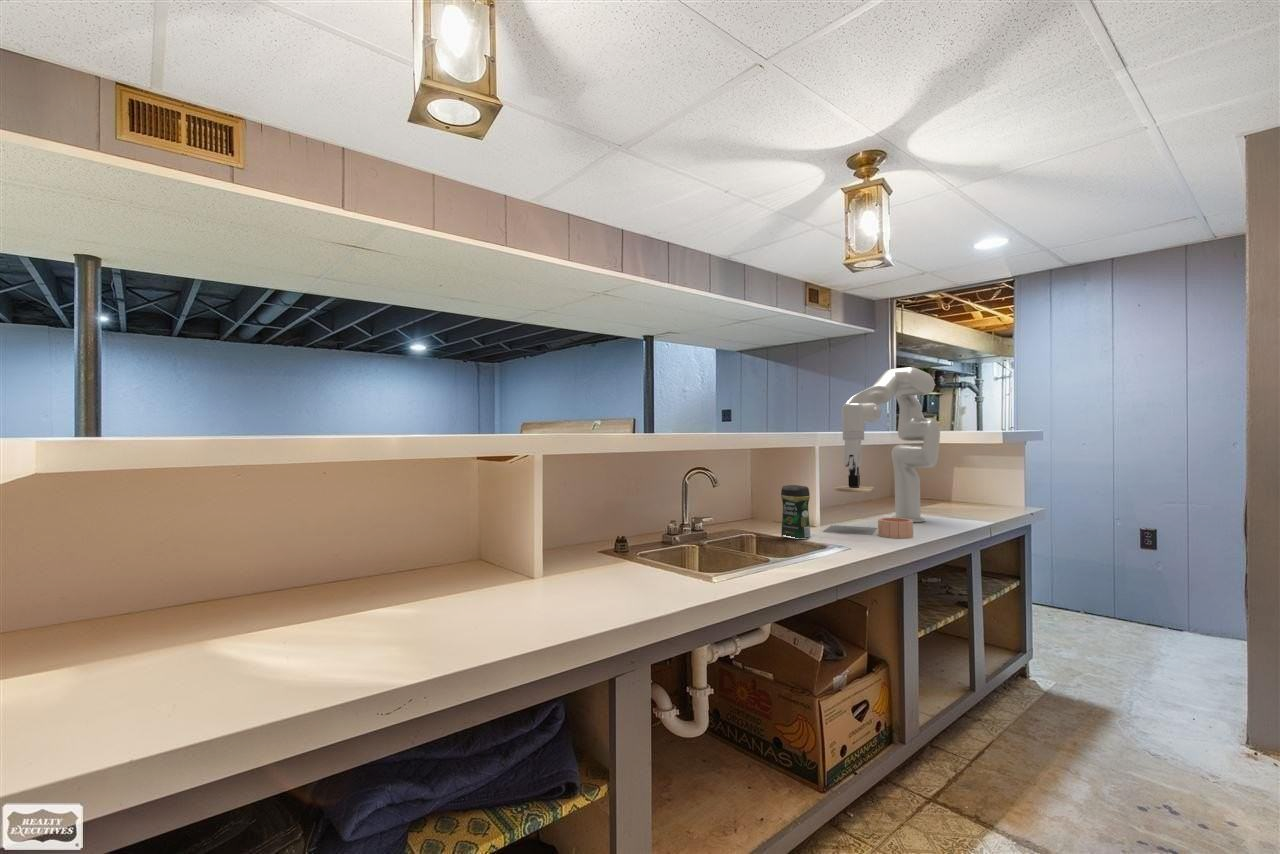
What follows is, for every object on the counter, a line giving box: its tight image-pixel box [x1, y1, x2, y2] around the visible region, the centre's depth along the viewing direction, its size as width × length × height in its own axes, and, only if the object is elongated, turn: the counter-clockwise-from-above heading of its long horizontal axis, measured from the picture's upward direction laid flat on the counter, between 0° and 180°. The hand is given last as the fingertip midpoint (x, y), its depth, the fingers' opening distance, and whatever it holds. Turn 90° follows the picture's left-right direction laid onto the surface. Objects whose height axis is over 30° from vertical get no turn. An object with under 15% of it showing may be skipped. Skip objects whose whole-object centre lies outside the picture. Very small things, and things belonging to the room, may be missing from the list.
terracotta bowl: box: [877, 517, 914, 539], centre depth 206 cm, size 11×11×6 cm
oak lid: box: [834, 473, 876, 493], centre depth 218 cm, size 14×14×6 cm
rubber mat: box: [822, 524, 878, 536], centre depth 219 cm, size 17×17×1 cm
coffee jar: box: [780, 484, 811, 539], centre depth 207 cm, size 10×8×19 cm
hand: (854, 485), depth 218 cm, fingers closed on oak lid, 3 cm apart
